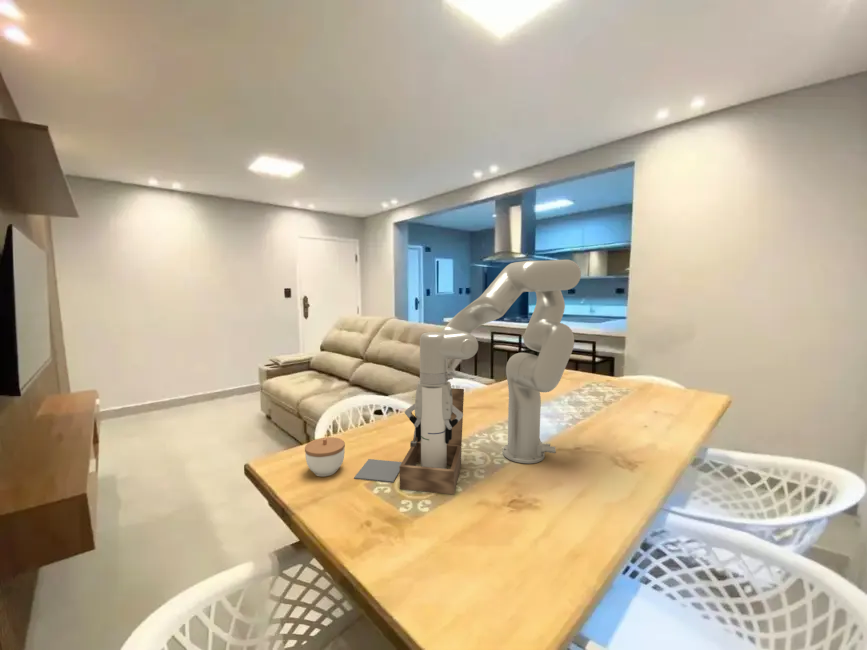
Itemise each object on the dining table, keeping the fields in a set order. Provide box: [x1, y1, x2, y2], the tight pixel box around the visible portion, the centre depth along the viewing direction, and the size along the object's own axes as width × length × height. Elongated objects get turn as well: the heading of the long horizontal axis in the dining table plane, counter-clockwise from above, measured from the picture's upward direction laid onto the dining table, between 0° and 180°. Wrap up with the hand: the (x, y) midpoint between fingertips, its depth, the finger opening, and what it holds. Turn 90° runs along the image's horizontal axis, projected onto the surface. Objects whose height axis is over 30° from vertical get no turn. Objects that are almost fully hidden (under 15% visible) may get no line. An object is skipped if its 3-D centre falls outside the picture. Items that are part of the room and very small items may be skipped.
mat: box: [353, 458, 402, 484], centre depth 105 cm, size 11×11×1 cm
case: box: [399, 387, 465, 495], centre depth 104 cm, size 14×22×21 cm, turn 169°
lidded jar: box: [304, 436, 346, 478], centre depth 104 cm, size 11×11×9 cm
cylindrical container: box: [420, 387, 448, 469], centre depth 103 cm, size 7×7×25 cm
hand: (433, 440), depth 103 cm, fingers closed on cylindrical container, 7 cm apart
